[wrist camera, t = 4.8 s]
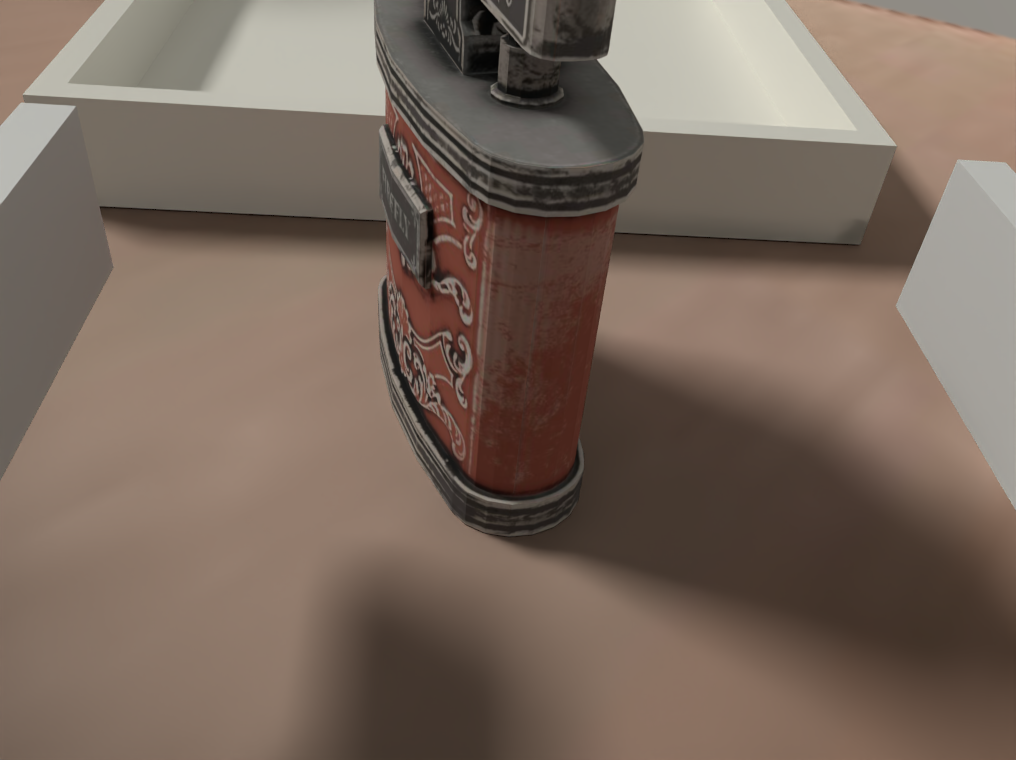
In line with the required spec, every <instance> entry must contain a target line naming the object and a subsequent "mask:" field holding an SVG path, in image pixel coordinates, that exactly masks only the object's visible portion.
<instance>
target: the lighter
mask: <svg viewBox="0 0 1016 760" xmlns="http://www.w3.org/2000/svg"><path fill="white" fill-rule="evenodd" d="M615 5H616V0H374V34H375V48H376V61H377V66H378V69H379V71H380V74H381V76H382V79H383V82H384V84H385V116H386V124H383V125H382V126H381V128H380V129H379V196H380V199H381V203H382V206H383V209H384V212H385V216H386V251H387V274H386V275H385V276H384V277H382V278H381V281H380V284H379V287H378V318H379V338H380V357H381V363H382V367H383V371H384V375H385V380H386V384H387V388H388V392H389V396H390V400H391V404H392V408H393V410H394V412H395V414H396V416H397V418H398V420H399V423H400V425H401V427H402V429H403V431H404V433H405V435H406V437H407V440H408V442H409V444H410V446H411V448H412V450H413V452H414V454H415V457H416V459H417V460H418V462H419V463H420V465H421V466H422V468H423V469H424V471H425V472H426V474H427V475H428V477H429V478H430V480H431V481H432V483H433V484H434V486H435V487H436V489H437V490H438V492H439V493H440V495H441V496H442V498H443V499H444V501H445V502H446V504H447V505H448V507H449V508H450V510H451V511H452V512H453V513H454V514H455V515H456V516H457V517H458V518H459V519H460V520H461V521H462V522H463V523H464V524H466V525H468V526H471V527H473V528H475V529H477V530H480V531H482V532H484V533H489V534H496V535H502V536H520V535H531V534H535V533H538V532H541V531H544V530H546V529H549V528H552V527H554V526H556V525H557V524H558V523H560V522H561V521H562V520H564V519H565V518H566V517H568V516H569V515H570V514H571V512H572V510H573V508H574V507H575V505H576V503H577V502H578V498H579V493H580V487H581V482H582V476H583V471H584V453H583V449H582V446H581V442H580V438H579V433H580V427H581V422H582V416H583V410H584V404H585V399H586V393H587V387H588V381H589V376H590V370H591V364H592V358H593V353H594V347H595V341H596V335H597V330H598V324H599V318H600V312H601V307H602V301H603V295H604V289H605V284H606V278H607V272H608V266H609V261H610V255H611V249H612V243H613V238H614V232H615V226H616V220H617V215H618V209H619V204H621V203H623V202H625V201H626V200H627V199H628V198H629V196H630V195H631V194H632V193H633V192H634V190H635V189H636V184H637V178H638V173H639V167H640V162H641V156H642V151H643V146H644V135H643V129H642V128H641V126H640V124H639V122H638V120H637V118H636V117H635V115H634V113H633V111H632V109H631V107H630V105H629V104H628V102H627V100H626V98H625V96H624V94H623V93H622V91H621V89H620V87H619V86H618V85H617V83H616V82H615V81H614V80H613V79H612V77H611V76H610V75H609V74H608V72H607V71H606V70H605V69H604V68H603V66H602V65H601V64H600V63H599V62H598V60H597V59H600V58H603V57H605V56H607V55H608V52H609V46H610V39H611V32H612V26H613V19H614V12H615Z"/></svg>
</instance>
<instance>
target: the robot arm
mask: <svg viewBox="0 0 1016 760" xmlns="http://www.w3.org/2000/svg"><path fill="white" fill-rule="evenodd" d="M112 269H113V263H112V259H111V255H110V250H109V246H108V242H107V237H106V233H105V229H104V224H103V220H102V216H101V211H100V207H99V202H98V198H97V194H96V189H95V185H94V181H93V176H92V172H91V168H90V163H89V159H88V155H87V150H86V146H85V142H84V137H83V133H82V129H81V124H80V120H79V116H78V111H77V107H76V106H68V105H52V104H35V103H20V104H19V106H18V107H17V108H16V109H15V110H14V111H13V112H12V113H11V115H10V116H9V117H8V118H7V119H6V120H5V121H4V123H3V124H2V125H1V126H0V480H1V478H2V476H3V474H4V473H5V471H6V469H7V467H8V465H9V463H10V461H11V459H12V458H13V456H14V454H15V452H16V450H17V448H18V446H19V444H20V442H21V441H22V439H23V437H24V435H25V433H26V431H27V429H28V427H29V426H30V424H31V422H32V420H33V418H34V416H35V414H36V412H37V410H38V409H39V407H40V405H41V403H42V401H43V399H44V397H45V395H46V394H47V392H48V390H49V388H50V386H51V384H52V382H53V380H54V378H55V377H56V375H57V373H58V371H59V369H60V367H61V365H62V363H63V362H64V360H65V358H66V356H67V354H68V352H69V350H70V348H71V346H72V345H73V343H74V341H75V339H76V337H77V335H78V333H79V331H80V330H81V328H82V326H83V324H84V322H85V320H86V318H87V316H88V314H89V313H90V311H91V309H92V307H93V305H94V303H95V301H96V299H97V298H98V296H99V294H100V292H101V290H102V288H103V286H104V284H105V282H106V281H107V279H108V277H109V275H110V273H111V271H112ZM896 307H897V309H898V310H899V312H900V314H901V316H902V317H903V319H904V321H905V322H906V324H907V326H908V328H909V329H910V331H911V333H912V334H913V336H914V338H915V339H916V341H917V343H918V345H919V346H920V348H921V350H922V351H923V353H924V355H925V357H926V358H927V360H928V362H929V363H930V365H931V367H932V368H933V370H934V372H935V374H936V375H937V377H938V379H939V380H940V382H941V384H942V386H943V387H944V389H945V391H946V392H947V394H948V396H949V397H950V399H951V401H952V403H953V404H954V406H955V408H956V409H957V411H958V413H959V415H960V416H961V418H962V420H963V421H964V423H965V425H966V426H967V428H968V430H969V432H970V433H971V435H972V437H973V438H974V440H975V442H976V443H977V445H978V447H979V449H980V450H981V452H982V454H983V455H984V457H985V459H986V461H987V462H988V464H989V466H990V467H991V469H992V471H993V472H994V474H995V476H996V478H997V479H998V481H999V483H1000V484H1001V486H1002V488H1003V490H1004V491H1005V493H1006V495H1007V496H1008V498H1009V500H1010V501H1011V503H1012V505H1013V507H1014V508H1015V510H1016V173H1015V172H1014V171H1013V170H1012V169H1011V168H1010V167H1009V166H1008V165H1007V164H1006V163H1004V162H988V161H972V160H957V163H956V165H955V167H954V170H953V172H952V174H951V177H950V179H949V181H948V184H947V186H946V189H945V191H944V193H943V196H942V198H941V200H940V203H939V205H938V207H937V210H936V212H935V215H934V217H933V219H932V222H931V224H930V226H929V229H928V231H927V233H926V236H925V238H924V241H923V243H922V245H921V248H920V250H919V252H918V255H917V257H916V259H915V262H914V264H913V266H912V269H911V271H910V274H909V276H908V278H907V281H906V283H905V285H904V288H903V290H902V292H901V295H900V297H899V300H898V302H897V304H896Z"/></svg>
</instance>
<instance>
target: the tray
mask: <svg viewBox="0 0 1016 760" xmlns="http://www.w3.org/2000/svg"><path fill="white" fill-rule="evenodd" d="M597 60H598V62H599V63H600V64H601V65H602V66H603V68H604V69H605V70H606V71H607V72H608V74H609V75H610V76H611V77H612V79H613V80H614V81H615V82H616V83H617V85H618V86H619V87H620V89H621V91H622V93H623V94H624V96H625V98H626V100H627V102H628V104H629V105H630V107H631V109H632V111H633V113H634V115H635V117H636V118H637V120H638V122H639V124H640V126H641V128H642V129H643V135H644V146H643V151H642V156H641V162H640V167H639V173H638V178H637V184H636V189H635V190H634V192H633V193H632V194H631V195H630V196H629V198H628V199H627V200H626V201H625V202H623V203H621V204H619V209H618V215H617V220H616V226H615V232H621V233H640V234H660V235H680V236H700V237H720V238H740V239H759V240H779V241H799V242H819V243H839V244H858V245H860V244H861V241H862V238H863V236H864V233H865V230H866V228H867V225H868V222H869V220H870V217H871V214H872V212H873V209H874V206H875V204H876V201H877V198H878V196H879V193H880V190H881V188H882V185H883V182H884V180H885V177H886V174H887V172H888V169H889V166H890V164H891V161H892V158H893V155H894V153H895V150H896V147H897V145H896V144H895V143H894V142H893V140H892V139H891V138H890V136H889V135H888V134H887V132H886V131H885V130H884V129H883V127H882V126H881V125H880V123H879V122H878V121H877V119H876V118H875V117H874V115H873V114H872V113H871V112H870V110H869V109H868V108H867V106H866V105H865V104H864V102H863V101H862V100H861V99H860V97H859V96H858V95H857V93H856V92H855V91H854V89H853V88H852V87H851V86H850V84H849V83H848V82H847V80H846V79H845V78H844V76H843V75H842V74H841V73H840V71H839V70H838V69H837V67H836V66H835V65H834V63H833V62H832V61H831V60H830V58H829V57H828V56H827V54H826V53H825V52H824V50H823V49H822V48H821V47H820V45H819V44H818V43H817V41H816V40H815V39H814V37H813V36H812V35H811V33H810V32H809V31H808V30H807V28H806V27H805V26H804V24H803V23H802V22H801V20H800V19H799V18H798V17H797V15H796V14H795V13H794V11H793V10H792V9H791V7H790V6H789V5H788V4H787V2H786V1H785V0H616V5H615V12H614V19H613V26H612V32H611V39H610V46H609V52H608V55H607V56H605V57H603V58H600V59H597ZM23 98H24V102H25V103H35V104H52V105H68V106H76V107H77V111H78V116H79V120H80V124H81V129H82V133H83V137H84V142H85V146H86V150H87V155H88V159H89V163H90V168H91V172H92V176H93V181H94V185H95V189H96V194H97V198H98V202H99V206H106V207H125V208H145V209H165V210H185V211H205V212H224V213H244V214H264V215H284V216H304V217H323V218H343V219H363V220H383V221H386V216H385V212H384V209H383V206H382V203H381V199H380V196H379V129H380V128H381V126H382V125H383V124H386V116H385V84H384V82H383V79H382V76H381V74H380V71H379V69H378V66H377V61H376V48H375V34H374V0H105V1H104V2H103V3H102V5H101V6H100V7H99V8H98V9H97V10H96V11H95V13H94V14H93V15H92V16H91V17H90V18H89V19H88V21H87V22H86V23H85V24H84V25H83V26H82V27H81V28H80V30H79V31H78V32H77V33H76V34H75V35H74V36H73V38H72V39H71V40H70V41H69V42H68V43H67V44H66V46H65V47H64V48H63V49H62V50H61V51H60V52H59V54H58V55H57V56H56V57H55V58H54V59H53V60H52V62H51V63H50V64H49V65H48V66H47V67H46V68H45V70H44V71H43V72H42V73H41V74H40V75H39V76H38V78H37V79H36V80H35V81H34V82H33V83H32V84H31V85H30V87H29V88H28V89H27V90H26V91H25V92H24V93H23Z"/></svg>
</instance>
